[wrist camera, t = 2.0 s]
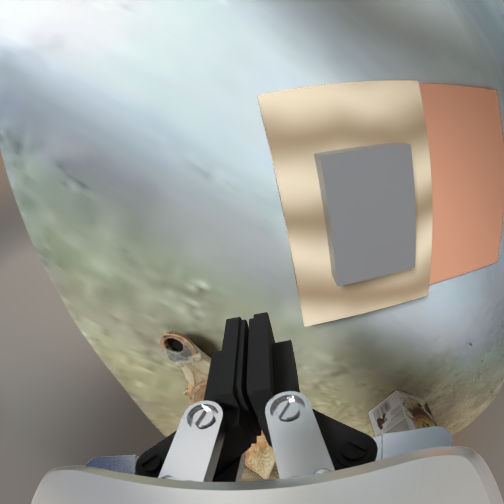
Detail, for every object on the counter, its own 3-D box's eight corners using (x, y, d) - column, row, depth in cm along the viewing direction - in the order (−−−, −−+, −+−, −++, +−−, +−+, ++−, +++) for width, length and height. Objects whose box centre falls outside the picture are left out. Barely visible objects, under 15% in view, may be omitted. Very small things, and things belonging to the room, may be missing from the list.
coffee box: (426, 397, 35) (458, 475, 20) (398, 420, 37) (422, 496, 23) (396, 388, 33) (431, 481, 18) (365, 412, 35) (389, 502, 21)
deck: (257, 98, 20) (257, 94, 18) (406, 83, 18) (417, 80, 16) (301, 314, 27) (304, 326, 26) (419, 285, 26) (427, 295, 24)
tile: (313, 153, 19) (319, 156, 18) (398, 142, 19) (410, 144, 17) (331, 274, 23) (337, 286, 22) (404, 257, 23) (415, 267, 21)
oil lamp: (239, 425, 36) (236, 483, 27) (142, 328, 29) (111, 397, 20) (293, 411, 35) (299, 472, 26) (207, 300, 27) (188, 379, 18)
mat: (410, 82, 18) (412, 82, 18) (494, 90, 17) (496, 90, 17) (422, 284, 26) (423, 286, 26) (495, 260, 25) (497, 261, 24)
